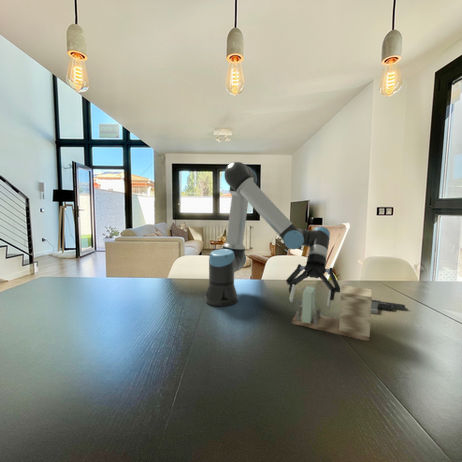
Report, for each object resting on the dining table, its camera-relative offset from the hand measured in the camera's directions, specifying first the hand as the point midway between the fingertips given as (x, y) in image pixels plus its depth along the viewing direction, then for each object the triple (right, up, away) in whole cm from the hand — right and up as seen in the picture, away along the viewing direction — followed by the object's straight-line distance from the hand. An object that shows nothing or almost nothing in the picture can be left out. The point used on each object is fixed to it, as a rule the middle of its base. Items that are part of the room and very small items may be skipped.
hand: (308, 303), depth 90 cm
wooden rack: (+7, -7, -3) cm, 10 cm away
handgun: (+37, -7, +13) cm, 40 cm away
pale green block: (0, -6, +1) cm, 6 cm away
